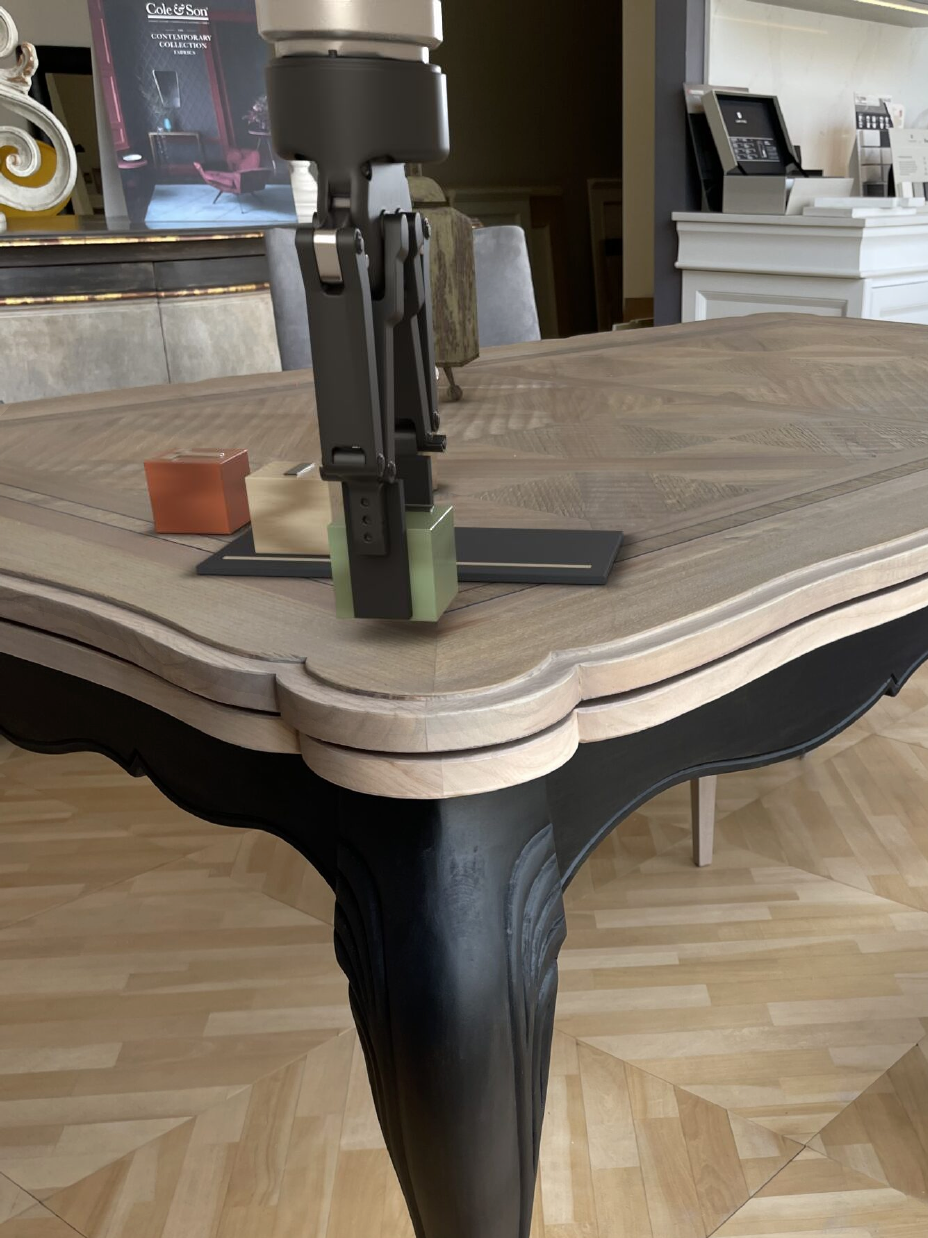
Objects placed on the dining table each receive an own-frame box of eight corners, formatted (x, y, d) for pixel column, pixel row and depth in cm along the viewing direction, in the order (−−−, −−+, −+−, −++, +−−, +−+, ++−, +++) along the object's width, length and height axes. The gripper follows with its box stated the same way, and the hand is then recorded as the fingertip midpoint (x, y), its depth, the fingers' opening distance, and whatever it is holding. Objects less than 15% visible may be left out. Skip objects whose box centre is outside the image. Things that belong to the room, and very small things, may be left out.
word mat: (196, 574, 76) (195, 565, 76) (261, 529, 86) (259, 521, 86) (604, 584, 75) (604, 575, 75) (623, 538, 85) (623, 529, 84)
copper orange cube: (155, 533, 85) (142, 460, 83) (185, 515, 89) (174, 445, 87) (230, 534, 85) (219, 461, 83) (257, 517, 89) (247, 447, 87)
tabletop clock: (393, 391, 141) (370, 123, 129) (478, 390, 142) (462, 124, 130) (390, 413, 128) (364, 118, 116) (483, 411, 129) (466, 119, 117)
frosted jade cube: (336, 618, 64) (326, 523, 62) (364, 589, 69) (355, 500, 66) (436, 622, 64) (430, 527, 62) (458, 592, 68) (452, 503, 66)
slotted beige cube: (255, 554, 79) (243, 475, 76) (282, 534, 83) (272, 459, 81) (336, 555, 78) (327, 477, 76) (359, 535, 83) (351, 460, 81)
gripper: (387, 39, 47) (431, 662, 58) (484, 71, 62) (503, 556, 74) (182, 35, 47) (265, 654, 58) (329, 68, 63) (372, 551, 74)
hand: (398, 598), depth 66 cm, fingers closed on frosted jade cube, 5 cm apart
